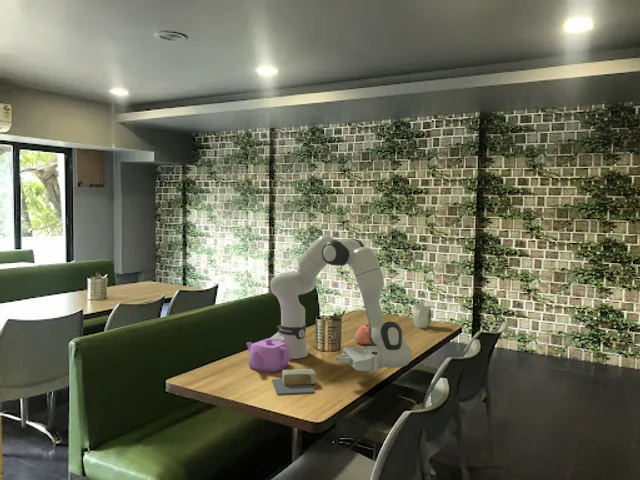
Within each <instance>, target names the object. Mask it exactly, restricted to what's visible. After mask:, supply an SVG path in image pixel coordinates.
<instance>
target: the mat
mask: <svg viewBox="0 0 640 480" xmlns="http://www.w3.org/2000/svg"><path fill="white" fill-rule="evenodd" d="M271 381H272V384H273V387H274V390H275V394H276V395H277V396H284V395H303V394H304V395H305V394H315V393H316V392H315V390H314V387H313V385H312V384H301V385H284V384H283V381H282V378H272V379H271Z"/></svg>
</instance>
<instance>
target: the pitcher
mask: <svg viewBox="0 0 640 480" xmlns="http://www.w3.org/2000/svg"><path fill="white" fill-rule="evenodd" d="M412 305H413V310H412V322H413V325H414V326H415V327H416V328H418V329H427V328H428V327H429V326H430V324H431V321H432V310H431V308H432V304H431V303H428V301H420V302H416V303H413V304H412Z"/></svg>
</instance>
